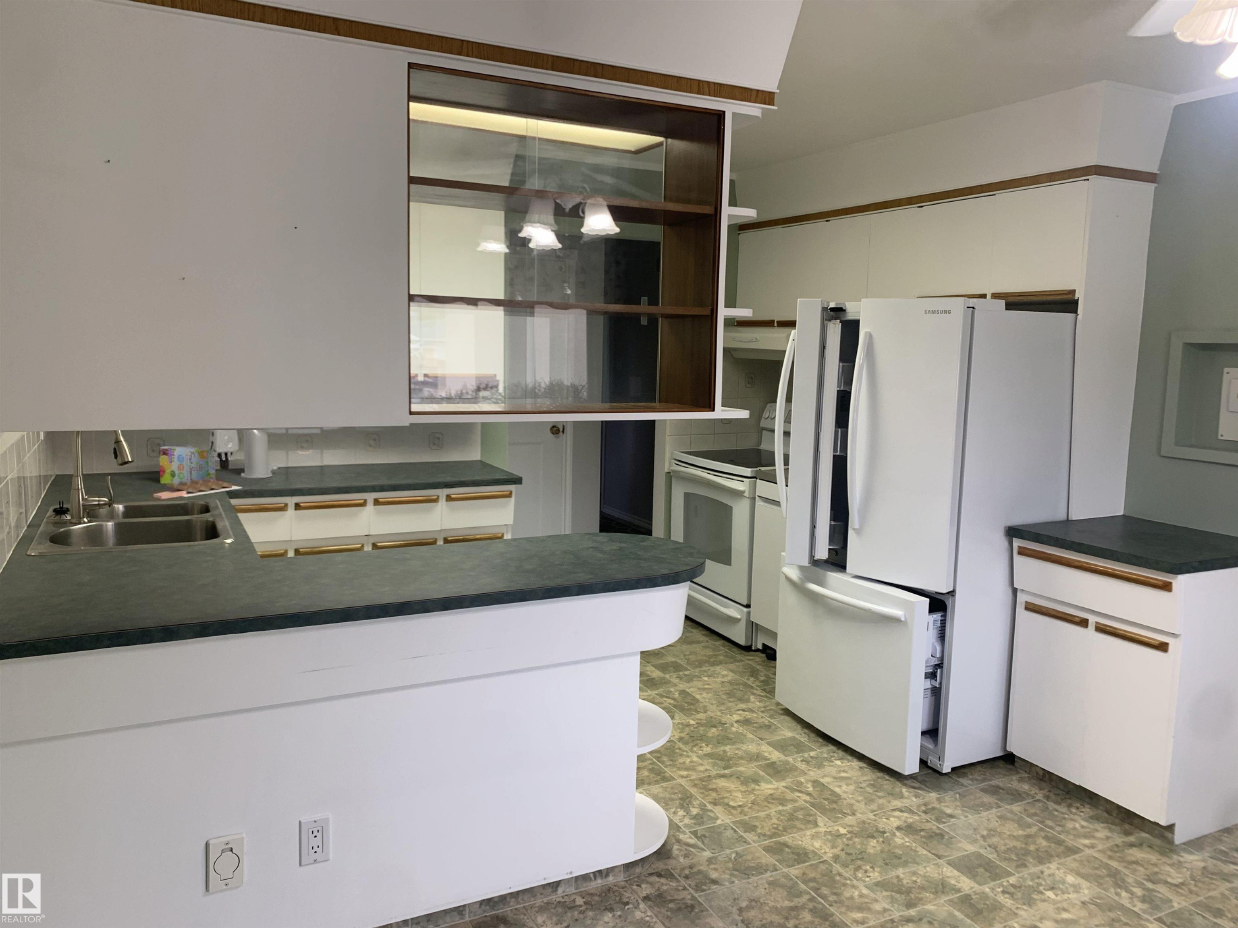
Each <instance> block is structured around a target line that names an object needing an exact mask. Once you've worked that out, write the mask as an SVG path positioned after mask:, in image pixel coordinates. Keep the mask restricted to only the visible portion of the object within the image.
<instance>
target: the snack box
mask: <svg viewBox="0 0 1238 928" xmlns="http://www.w3.org/2000/svg"><path fill="white" fill-rule="evenodd" d="M158 452H159V476H160V477H159V480H160V481H159V482H160V483H159V484H166V485H167V482H168V483H174V484H178V485H179V482H180V481H183V482H189V483H191V480H192V479H193V480H198V481H202V480H203V478H208V479H213V480H216V456H214V455H211V450H210V447H208V448H207V447H195V446H193V447H192V446H172V445H171V446H170V445H169V446H168V445H166V446H161V447H159V451H158Z"/></svg>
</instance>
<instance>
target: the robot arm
mask: <svg viewBox="0 0 1238 928" xmlns="http://www.w3.org/2000/svg"><path fill="white" fill-rule="evenodd" d="M268 438H269V437H268V433H267V431H266V430H265V429H264V430H243V450H244V451H243V455H244V456H243V457H244V461H243V462H244V472H241V473H240V477H242V478H248V479H249V478H250V479H251V478H252V479H264V478H265V479H266V478H270V477H272V476H273V472H272V471H277V470H278V469H279V468H278V465H271V464H269V445H268V444H269V442H268V440H269V439H268ZM209 448H210V450H211V455H214V456H215V457H217V459H218V460H219V469H220V470H225V471H226V470H229V469H230V468H229V467H230V459H231V457H232V455H234V454H237V451H238V450H239V436H238V430H237V429H236V430H211V429H210V435H209Z"/></svg>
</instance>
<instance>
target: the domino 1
mask: <svg viewBox="0 0 1238 928" xmlns="http://www.w3.org/2000/svg"><path fill="white" fill-rule="evenodd" d="M183 495H186V491H185V490H180V489H172V490H168V491H167V490H166V491H163V492H158V493H154V494H153V495H152V497H153V498H154V499H160V500H163V499H165V500H166V499H170V498H177V497H184V496H183Z"/></svg>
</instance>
